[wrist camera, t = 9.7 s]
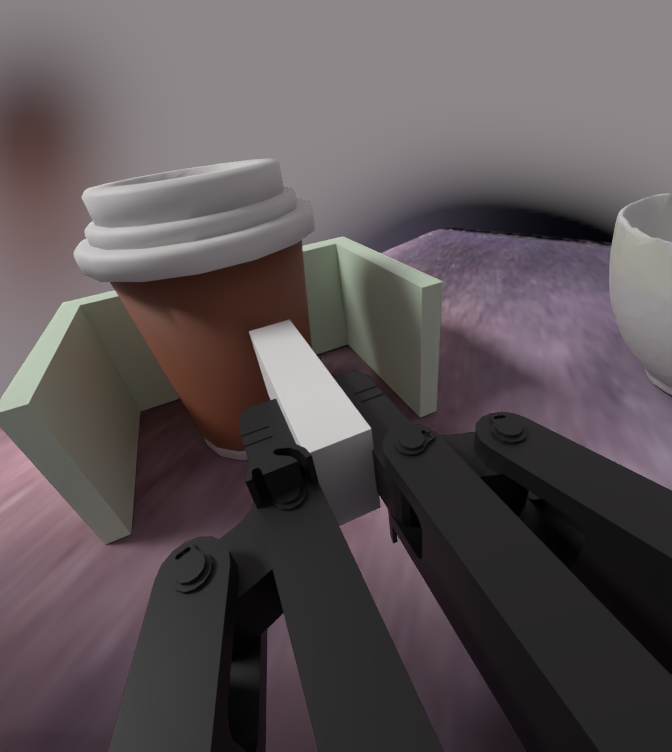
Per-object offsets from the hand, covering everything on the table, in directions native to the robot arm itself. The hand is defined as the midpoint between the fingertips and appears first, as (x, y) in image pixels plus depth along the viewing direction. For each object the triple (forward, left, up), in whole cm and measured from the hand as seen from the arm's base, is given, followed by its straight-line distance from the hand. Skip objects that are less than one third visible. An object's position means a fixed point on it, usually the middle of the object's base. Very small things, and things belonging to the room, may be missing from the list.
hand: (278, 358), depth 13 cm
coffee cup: (-1, +5, -6) cm, 8 cm away
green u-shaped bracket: (-1, +5, -6) cm, 8 cm away
